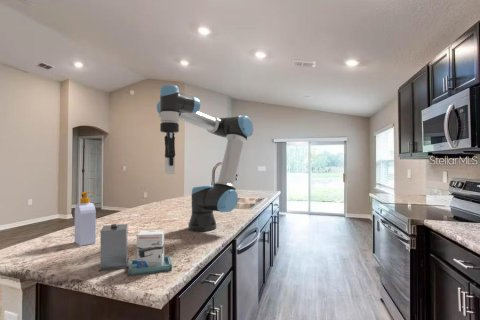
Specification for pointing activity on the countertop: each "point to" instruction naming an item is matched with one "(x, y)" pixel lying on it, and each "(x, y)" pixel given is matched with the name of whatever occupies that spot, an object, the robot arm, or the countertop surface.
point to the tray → (137, 271)
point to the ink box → (150, 248)
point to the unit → (114, 247)
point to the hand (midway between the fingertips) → (169, 173)
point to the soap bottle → (85, 221)
